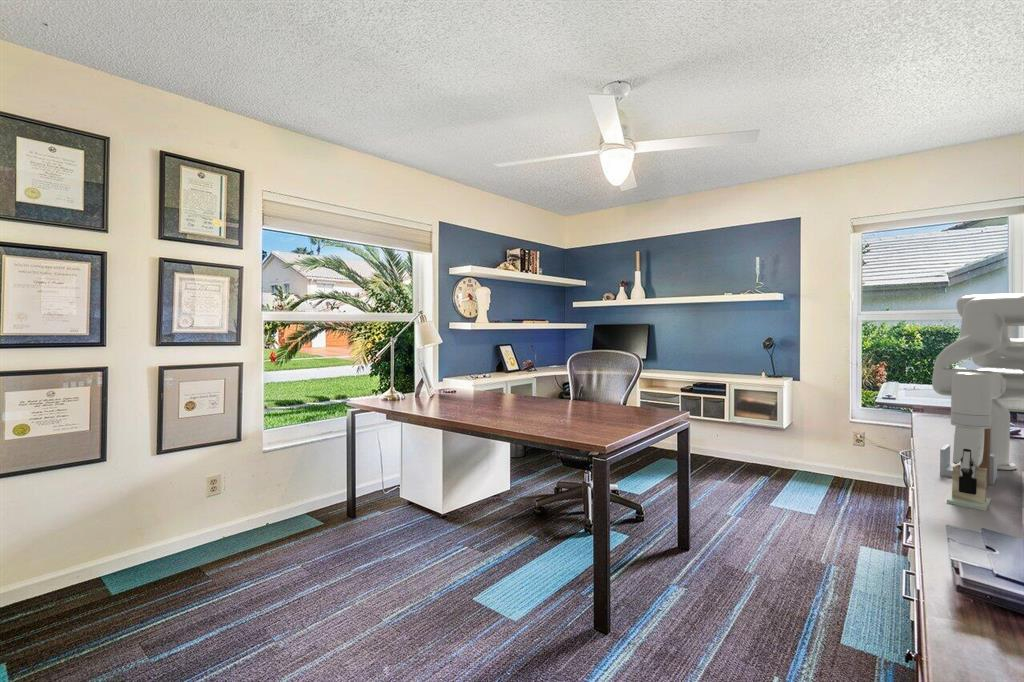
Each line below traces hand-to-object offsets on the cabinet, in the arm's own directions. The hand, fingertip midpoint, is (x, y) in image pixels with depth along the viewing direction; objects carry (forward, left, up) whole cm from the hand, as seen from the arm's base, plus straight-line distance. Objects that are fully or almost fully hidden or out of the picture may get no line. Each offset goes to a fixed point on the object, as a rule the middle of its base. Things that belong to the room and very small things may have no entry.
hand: (969, 490), depth 124 cm
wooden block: (-19, -1, -3) cm, 20 cm away
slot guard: (-30, -3, -3) cm, 30 cm away
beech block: (0, 0, -2) cm, 2 cm away
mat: (0, 0, -3) cm, 3 cm away
